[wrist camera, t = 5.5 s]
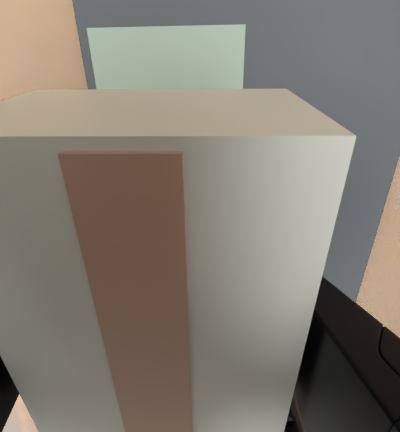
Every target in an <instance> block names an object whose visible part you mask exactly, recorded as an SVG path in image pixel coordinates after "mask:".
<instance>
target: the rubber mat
mask: <svg viewBox="0 0 400 432" xmlns="http://www.w3.org/2000/svg"><path fill="white" fill-rule="evenodd" d="M72 1H73V7H74V12H75V18H76V23H77V29H78V35H79V40H80V46H81V52H82V57H83V63H84V68H85V74H86V80H87V85H88V89H288V90H289V91H291V92H292V93H294V94H295V95H297V96H298V97H300V98H301V99H303V100H304V101H306V102H307V103H309V104H310V105H312V106H313V107H315V108H316V109H318V110H319V111H321V112H322V113H323V114H325V115H326V116H328V117H329V118H331V119H332V120H334V121H335V122H337V123H338V124H340V125H341V126H343V127H344V128H346V129H347V130H349V131H350V132H352V133H353V134H355V135H356V141H355V145H354V149H353V153H352V157H351V161H350V165H349V169H348V173H347V177H346V181H345V185H344V189H343V194H342V198H341V202H340V206H339V210H338V214H337V218H336V222H335V226H334V230H333V234H332V238H331V242H330V247H329V251H328V255H327V259H326V263H325V267H324V271H323V275H322V276H323V277H324V278H326V279H327V280H328V281H329V282H331V283H332V284H333V285H334V286H336V287H337V288H338V289H339V290H340V291H342V292H343V293H344V294H345V295H347V296H348V297H349V298H350V299H352V300H353V301H354V302H356V299H357V296H358V292H359V289H360V286H361V282H362V279H363V276H364V272H365V269H366V266H367V262H368V259H369V256H370V252H371V249H372V246H373V242H374V239H375V236H376V232H377V229H378V226H379V222H380V219H381V215H382V212H383V209H384V205H385V202H386V199H387V195H388V192H389V189H390V185H391V182H392V179H393V175H394V172H395V169H396V165H397V162H398V159H399V155H400V0H72Z"/></svg>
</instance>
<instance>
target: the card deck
mask: <svg viewBox="0 0 400 432" xmlns="http://www.w3.org/2000/svg"><path fill="white" fill-rule="evenodd" d="M355 141H356V135H355V134H353V133H352V132H350V131H349V130H347V129H346V128H344V127H343V126H341V125H340V124H338V123H337V122H335V121H334V120H332V119H331V118H329V117H328V116H326V115H325V114H323V113H322V112H321V111H319V110H318V109H316V108H315V107H313V106H312V105H310V104H309V103H307V102H306V101H304V100H303V99H301V98H300V97H298V96H297V95H295V94H294V93H292V92H291V91H289V90H288V89H79V90H33V91H30V92H26V93H23V94H20V95H17V96H14V97H11V98H8V99H5V100H2V101H0V356H1V358H2V360H3V362H4V364H5V366H6V368H7V370H8V372H9V374H10V376H11V378H12V380H13V382H14V384H15V386H16V388H17V390H18V392H19V394H20V396H21V398H22V400H23V401H24V403H25V405H26V407H27V409H28V411H29V413H30V415H31V417H32V419H33V421H34V423H35V425H36V427H37V429H38V431H39V432H284V430H285V426H286V422H287V418H288V414H289V410H290V405H291V401H292V397H293V393H294V389H295V385H296V381H297V377H298V373H299V369H300V365H301V361H302V357H303V352H304V348H305V344H306V340H307V336H308V332H309V328H310V324H311V320H312V316H313V312H314V308H315V304H316V300H317V295H318V291H319V287H320V283H321V279H322V275H323V271H324V267H325V263H326V259H327V255H328V251H329V247H330V242H331V238H332V234H333V230H334V226H335V222H336V218H337V214H338V210H339V206H340V202H341V198H342V194H343V189H344V185H345V181H346V177H347V173H348V169H349V165H350V161H351V157H352V153H353V149H354V145H355Z"/></svg>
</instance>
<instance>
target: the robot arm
mask: <svg viewBox="0 0 400 432" xmlns="http://www.w3.org/2000/svg"><path fill="white" fill-rule="evenodd" d="M18 395H19V392H18V390H17V388H16V386H15V384H14V382H13V380H12V378H11V376H10V374H9V372H8V370H7V368H6V366H5V364H4V362H3V360H2V358H1V356H0V432H2V430H3V428H4V426H5V424H6V422H7V419H8V417H9V415H10V413H11V410H12V408H13V406H14V404H15V402H16V400H17V397H18ZM284 432H400V338H399V337H398V336H397V335H395V334H394V333H393V332H392V331H390V330H389V329H388V328H387V327H383V325H382V324H381V323H380V322H379V321H378V320H376V319H375V318H374V317H373V316H372V315H370V314H369V313H368V312H367V311H365V310H364V309H363V308H362V307H360V306H359V305H358V304H357V303H355V302H354V301H353V300H352V299H350V298H349V297H348V296H347V295H345V294H344V293H343V292H342V291H340V290H339V289H338V288H337V287H336V286H334V285H333V284H332V283H331V282H329V281H328V280H327V279H326V278H324V277H323V276H322V279H321V283H320V287H319V291H318V295H317V300H316V304H315V308H314V312H313V316H312V320H311V324H310V328H309V332H308V336H307V340H306V344H305V348H304V352H303V357H302V361H301V365H300V369H299V373H298V377H297V381H296V385H295V389H294V393H293V397H292V401H291V405H290V410H289V414H288V418H287V422H286V426H285V430H284Z"/></svg>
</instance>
